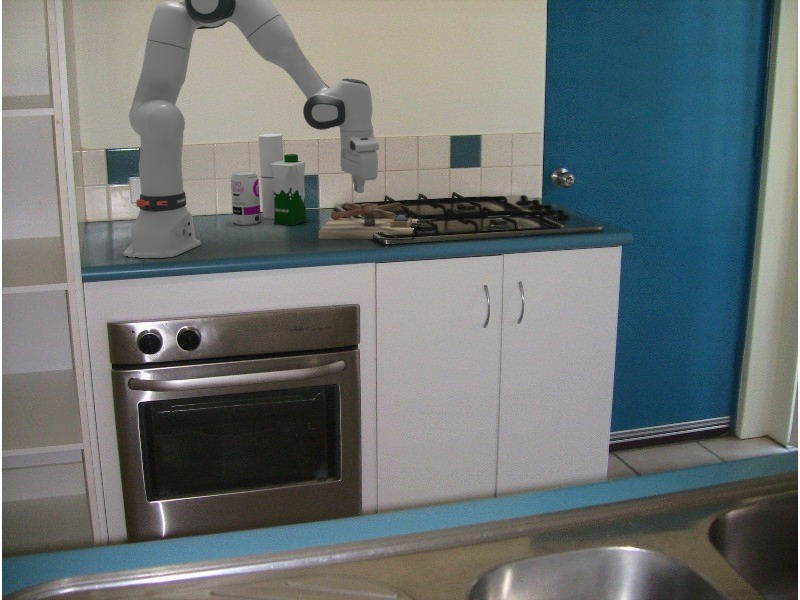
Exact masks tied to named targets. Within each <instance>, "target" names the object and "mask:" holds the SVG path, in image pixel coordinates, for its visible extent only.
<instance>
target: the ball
mask: <svg viewBox="0 0 800 600" xmlns="http://www.w3.org/2000/svg"><path fill="white" fill-rule="evenodd" d="M395 218H396V221H406V218H407V217H406V216H405V215H403V214H398V215H397V216H396V217H395Z"/></svg>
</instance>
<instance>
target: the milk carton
mask: <svg viewBox="0 0 800 600" xmlns="http://www.w3.org/2000/svg"><path fill="white" fill-rule="evenodd" d="M270 168H271V172H272V176H273V187H274V206H275V208H274V219H273V224H274V225H275V224H277V225H284V226H285V225H287V226H296V225H300V224H302V223H305V222H307V212H306V211H307V209H306V194H305V193H306V190H305V189H306V188H305V172H306V171H305V170H306V169H305V168H306V162H305V161H302V160H301V161H299V154H296V153H289V154H283V161H280V162H275V163H273V164H270Z"/></svg>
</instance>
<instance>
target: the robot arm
mask: <svg viewBox="0 0 800 600" xmlns="http://www.w3.org/2000/svg"><path fill="white" fill-rule="evenodd" d="M152 15H153V16H152V18H151V22H150V24H149V29H148V34H147V37H146V42H145V44H146V45H145V50H144V56H143V63H142V66H141V67H142V68H141V72H140V76H139V79H138V82H137V85H136V88H135V92H134V96H133V99H132V103H131V107H130V109H129V112H128V113H129V114H128V118H129V124H130V126H131V129H132V130H133V131H134V132H135V134H137V135H138V136H139V137H140V149H139V150H140V152H139V161H138V174H139V184H140V193H139V199H136V202H135V205H136V208H138V209H140V210H139V212H138V215H137V217H136V219H135V222H134V225H133V227H132V229H131V243H130V244H129V245H128V246H127V248H126V249H125V250H124V251H123V257H126V256H128V258H135V257H138V258H137V259H139V258H141V259H150V258H151V259H161V258H162V259H163V258H164V259H165V258H172V257H176V256H179V255H181V254H183V253H185V252H187V251H191V250H192V249H194V248H197V247H199V246H201V245H202V243H201V240H199V239H197V237H196V232H195V224H194V219H193V218H194V217H193V214H192V213H191V212H190V211H189V210H188V208H187V196H186V192H185V191H184V182H183V167H182V159H183V158H182V157H183V147H184V146H183V144H184V130H185V125H186V122H185V118H184V117H185V116H184V114H183V113H182V111H181V110H180V109H179V107H178V106H177V105H176V104H177V101H178V98H179V95H180V92H181V89H182V87H183V86H184V84H185V82H186V77H187V72H188V65H189V60H190V55H191V48H192V43H193V37H194V35H195V33H196V30H206V29H207V30H208V29H216V28H220V27H222V26H224V25H225V24H226V23H228V22H229V23H232V24H233V25H235V26H236V27H237V29H238V30H239V31H240V32H241V34H242V35H243V36H244V38H245V39H246V40H247V42H248V43H249V44H250V46H251V47H252V49H253V50H254V51H255V52H256V53H257V54H258V55H259V56H260V57H261V58H262V59H263V60H265V61H266V62H268V63H272V64H274V65H276V66H277V67H279V68H281V69H282V70H284V72H286V73H287V74H288V75H289V76H290V78H291V79H292V80H293V81H294V83H295V84H296V85H297V86H298V88H299V89H300V91H302V93H303V95H304V96H305V97H306V99H307V100H306V101H305V103H304V105H303V110H302V111H303V112H302V113H303V119H304V120H305V122H306V123H307V125H308V126H310V127H311V128H313V129H316V130H319V131H321V130H322V131H324V130H329V129H331V128H332V129H333V128H335V127H337V128H338V127H339V135H340V139H339V140H340V167H341V168H340V169H341V171H342V172H344V173H346V174H348V175H351V180H352V183H353V189H354V191H355V192H356V193H357V194H361V193H362V194H363V193H364V192H365V183H366V181H373V180H376V179H377V177H378V173H379V172H378V169H379V167H378V165H379V161H378V159H379V158H378V152H377V151H379V150H380V144H379V141H378V140H377V139H376V137H375V135H374V126H373V124H372V123H373V122H372V116H373V99H372V91H371V89H370V86H369V85H368V84H367V82H365V81H363V80H359V79H356V78H342V79H340V81H338V82H336V83H335V84H334V85H332V86H331V87H330V86H329V85H327V83H325V82H324V80H323V79H322V77H321V76H320V75H319V74H318V72H317V71H316V69H314V67H313V66H312V64H311V63H310V62H309V60H308V59H307V58H306V56H305V54H304V53H303V50H302V49H301V47H300V45H299V43H298V41H297V40H296V38H295V36H294V34H293V32H292V30H291V28H290V26H289V24H288V23H287V21H286V20H285V18H284V17H283V15H282V14H281V13H280V11H279V10H278V8H277V6H275V5H274V4H273V2H272V1H271V0H182V1H176V0H167V1H166V0H165V1H162V2H160V3H159V4H158V5H157V6H156V7H155V10H154V13H153V14H152Z"/></svg>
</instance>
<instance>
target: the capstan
mask: <svg viewBox="0 0 800 600" xmlns="http://www.w3.org/2000/svg"><path fill="white" fill-rule="evenodd" d="M344 208H345V209H349V210H344V211H336V210H335V211H332V212H331V214H330V218H332V219H333V220H338V219H339V218H349V217H354V216H361V218H364V217H375V218H376V217H378V216H379V217H382V218H385V219H393V218H396V213H395V212H392V211H391V210H397V209H402V203H401V202H393V203H386V204H382V205H381V204H378V203H373V202H372V203H369V202H368V203H362V204H358V203H354V202H350V201H348V202H344Z"/></svg>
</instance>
